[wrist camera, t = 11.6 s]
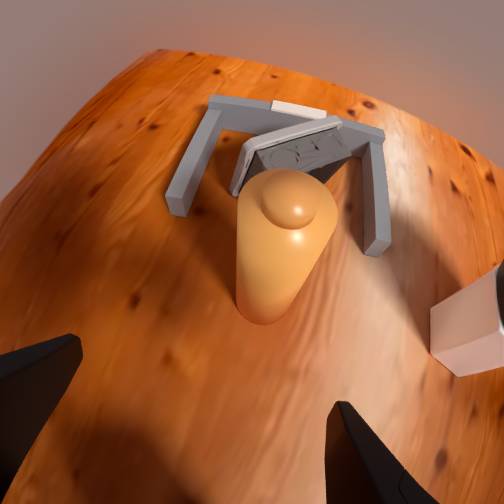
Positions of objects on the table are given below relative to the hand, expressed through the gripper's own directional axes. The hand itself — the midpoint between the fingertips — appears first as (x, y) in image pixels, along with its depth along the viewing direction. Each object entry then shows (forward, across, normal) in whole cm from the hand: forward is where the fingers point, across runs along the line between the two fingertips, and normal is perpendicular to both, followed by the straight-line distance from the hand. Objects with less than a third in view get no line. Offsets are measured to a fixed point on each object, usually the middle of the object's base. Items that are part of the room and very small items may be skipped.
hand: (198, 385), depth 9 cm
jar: (+15, -22, +4) cm, 27 cm away
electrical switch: (+23, -2, -4) cm, 24 cm away
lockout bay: (+25, -2, -5) cm, 25 cm away
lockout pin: (+15, -2, +4) cm, 16 cm away
